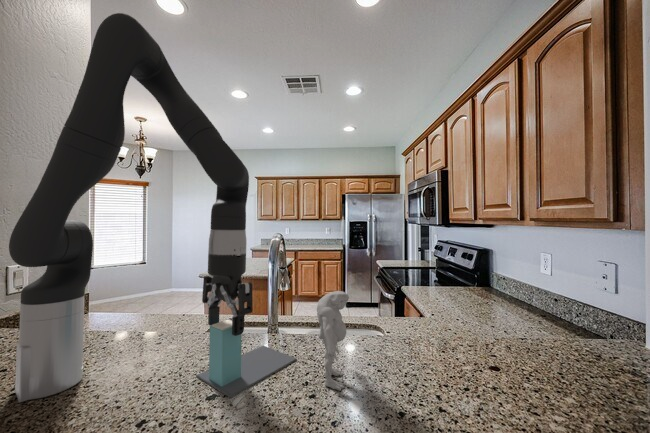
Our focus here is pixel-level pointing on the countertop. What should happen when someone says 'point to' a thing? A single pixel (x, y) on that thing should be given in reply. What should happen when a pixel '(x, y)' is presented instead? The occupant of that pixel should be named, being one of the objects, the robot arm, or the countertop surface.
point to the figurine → (332, 331)
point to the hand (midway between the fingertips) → (225, 329)
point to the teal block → (224, 354)
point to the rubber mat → (252, 369)
